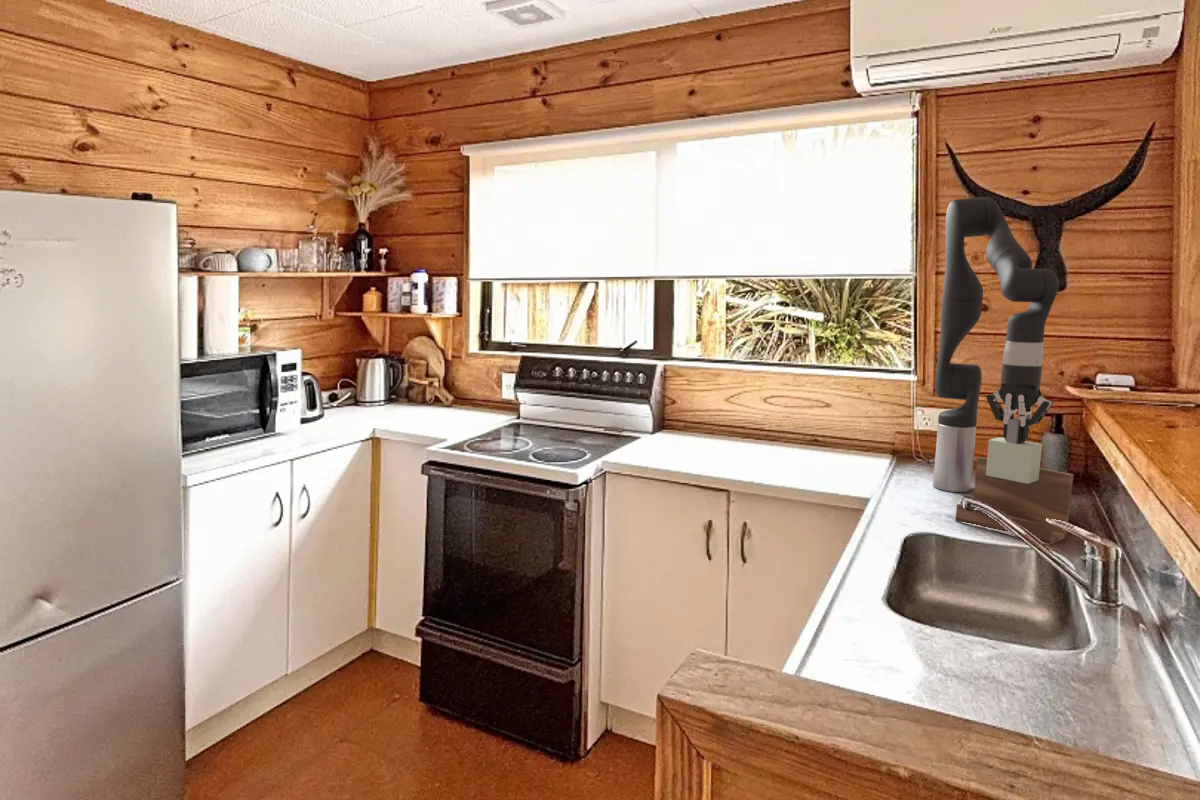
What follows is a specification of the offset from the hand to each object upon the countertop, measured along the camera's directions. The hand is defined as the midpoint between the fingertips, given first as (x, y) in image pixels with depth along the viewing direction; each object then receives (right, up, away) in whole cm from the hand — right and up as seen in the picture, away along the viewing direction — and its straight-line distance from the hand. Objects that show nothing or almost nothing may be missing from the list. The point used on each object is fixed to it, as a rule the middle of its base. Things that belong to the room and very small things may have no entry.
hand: (1014, 441), depth 167 cm
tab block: (0, -8, +1) cm, 8 cm away
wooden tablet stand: (+1, -20, +4) cm, 20 cm away
